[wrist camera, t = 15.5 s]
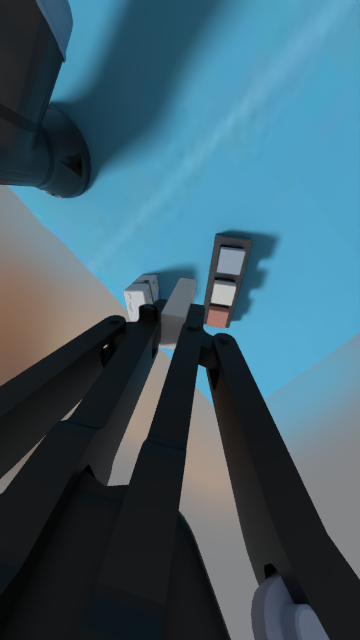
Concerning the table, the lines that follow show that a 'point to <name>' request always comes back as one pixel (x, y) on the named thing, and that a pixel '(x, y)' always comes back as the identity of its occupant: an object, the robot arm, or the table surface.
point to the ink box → (141, 294)
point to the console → (232, 241)
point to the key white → (223, 292)
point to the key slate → (230, 260)
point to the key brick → (217, 316)
